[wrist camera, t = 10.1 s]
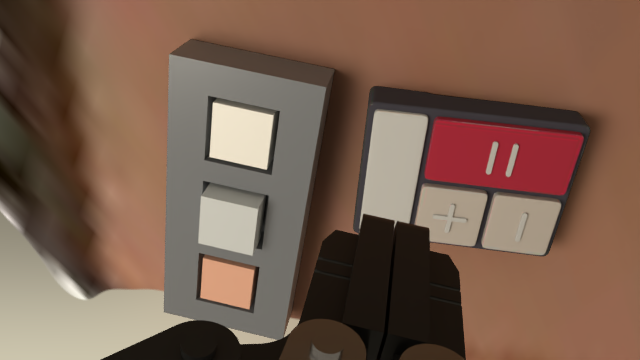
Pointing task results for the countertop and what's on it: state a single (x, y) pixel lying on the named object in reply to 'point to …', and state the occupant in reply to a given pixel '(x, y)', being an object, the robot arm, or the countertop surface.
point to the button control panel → (469, 168)
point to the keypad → (241, 177)
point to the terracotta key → (228, 281)
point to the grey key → (231, 218)
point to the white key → (243, 133)
